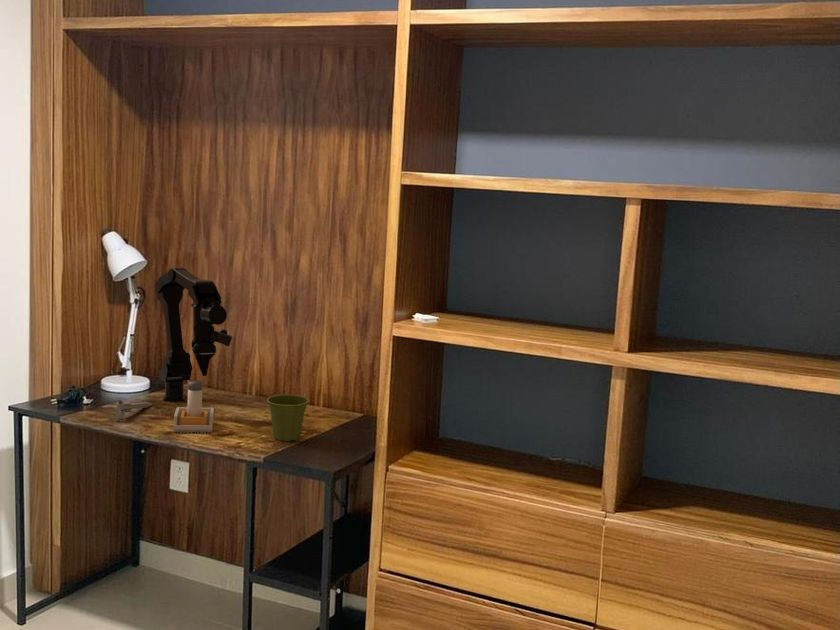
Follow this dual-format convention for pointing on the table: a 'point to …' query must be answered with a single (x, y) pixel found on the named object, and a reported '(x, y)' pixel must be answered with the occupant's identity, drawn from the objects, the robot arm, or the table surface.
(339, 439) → the table surface
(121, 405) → the caliper
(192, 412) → the plug
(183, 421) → the socket box
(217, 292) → the robot arm
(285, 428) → the plant pot
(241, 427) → the table surface
